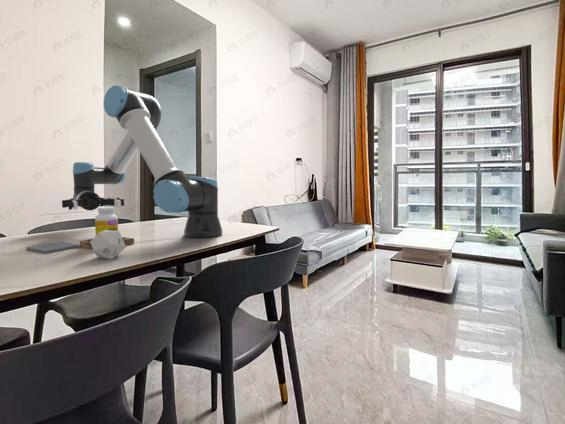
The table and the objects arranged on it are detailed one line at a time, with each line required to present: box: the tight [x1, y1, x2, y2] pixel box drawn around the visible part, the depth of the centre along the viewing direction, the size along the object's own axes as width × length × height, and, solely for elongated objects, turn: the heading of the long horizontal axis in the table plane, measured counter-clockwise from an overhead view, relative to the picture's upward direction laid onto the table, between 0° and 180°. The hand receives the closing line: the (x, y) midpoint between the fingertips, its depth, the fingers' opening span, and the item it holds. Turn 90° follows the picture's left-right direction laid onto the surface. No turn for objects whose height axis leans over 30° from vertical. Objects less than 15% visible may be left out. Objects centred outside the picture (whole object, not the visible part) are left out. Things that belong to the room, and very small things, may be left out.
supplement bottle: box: [94, 206, 119, 236], centre depth 104 cm, size 7×7×13 cm
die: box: [90, 230, 127, 260], centre depth 89 cm, size 8×9×10 cm
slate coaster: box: [26, 241, 80, 254], centre depth 99 cm, size 10×10×1 cm
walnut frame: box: [78, 236, 135, 250], centre depth 105 cm, size 12×12×2 cm
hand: (98, 204), depth 111 cm, fingers open, 13 cm apart
